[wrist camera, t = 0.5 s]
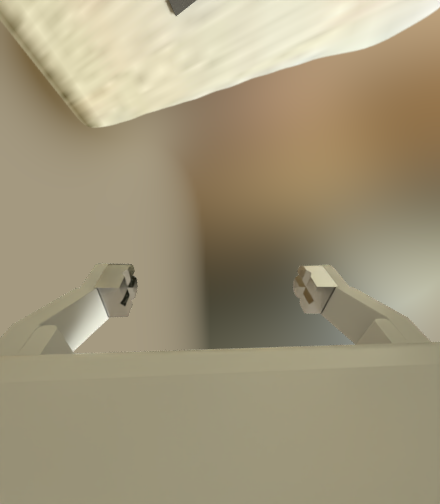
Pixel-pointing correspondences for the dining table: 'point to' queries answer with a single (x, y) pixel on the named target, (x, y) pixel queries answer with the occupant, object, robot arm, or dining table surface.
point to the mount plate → (180, 5)
